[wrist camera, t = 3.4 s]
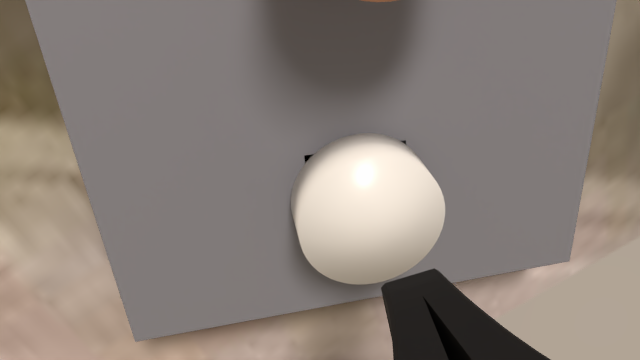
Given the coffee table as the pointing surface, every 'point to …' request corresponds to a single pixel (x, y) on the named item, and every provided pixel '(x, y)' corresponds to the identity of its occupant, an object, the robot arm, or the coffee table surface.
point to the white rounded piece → (366, 209)
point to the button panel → (316, 135)
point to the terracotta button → (379, 0)
